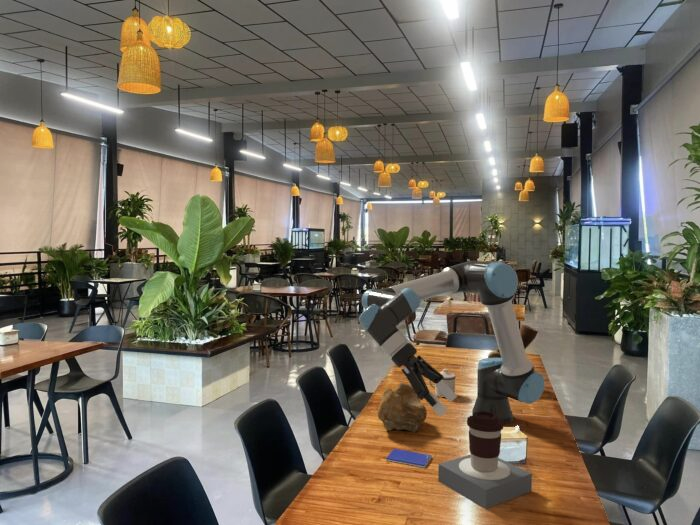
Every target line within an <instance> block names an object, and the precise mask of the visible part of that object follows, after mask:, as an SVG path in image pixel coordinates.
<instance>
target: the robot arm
mask: <svg viewBox="0 0 700 525" xmlns="http://www.w3.org/2000/svg"><path fill="white" fill-rule="evenodd" d="M518 278H519V277H518V274H517V272H516V270H515V269H514V268H513V267H512V266H511V265H510V264H507V263H504V262H500V261H482V260H481V261H480V260H469V261H465V262H461V263H458V264H454V265H451V266H447V267H445V268H443V269H442V271H441V272H438V273H433V274H429V275H427V276H424V277H423V276H422V277H420V278H417V279H412V280H409V281H406V282H402V283H399V284H395V285H391V286H388V287H384V288H381V289H375V288H373V289H371V288H370V289H367V290H366V291H365V292H364V293H363V294H362V296H361V305H362V308H364V310H363V311H362V313H360V315H359V316H358V322H359V323H360V325H361V326H362V328H364V330H365V332H366V333H367V334H368V335H369V336H371V338H372V339H373V340H374V341H375V342H376V343H377V344H378V346H379V347H380V348H381V349H382V353H385V354H386V355H387V356H388V357H391V361H392V362H393V363H394V364H395V366H396V367H397V368H401V367H402V366H403V368H402V369H401V372H402V373H403V374H404V376H405V377H406V378H407V381H408V382H409V384H410V385H411V386H412V387H413V389H414V391H415V392H416V394H417V396H418V397H419V400H420V401H422V400H425V402H426V403H427V404H429V406H430V407H431V409H432V410H433V411H434V412H435V413H436V414H437V415H438V416H439V417H441V416H443V415H445V414H446V412H447V411H448V409H447V408H446V406H445V405H444V404H443V403H442V402H441V401H440V400H439V398H438V396H436V395H435V393H433V391H431V392H430V389H429V388H428V386H427V383H426V381H425V379H424V378H426V379H427V380H428V381H429V380H430V381H431V383H433V384H434V387H435V386H436V387H437V388H438V389H439V390H440V392H441V393H442V394H443V395H444V396H445V397H446V398H445V399H446V400H447V401H448V402H449V403H451V402H452V401H454V400H455V399H457V397H458V395H457V394H456V392H455V393H454V392H453V391H452V390H451V389H450V388H449V387H448V385H447V384H446V383H445V382H444V381H443V380H442V379H443V378H444V376H443V375H441V374H440V373H439V371H438V370H437V369H435V367H433V366H432V365H431V364H429V363H428V362H427V361H426V360H425V359H424V358H423V357H422V356H421V355H420V354H418V355H417V356H415V355H416V354H417V353H418V350H417V349H416V347H414V345H413V344H412V342H408V338H407V337H406V336H405V335H404V334H403V333H402V332H401V330H399V328H398V327H397V326H398V325H399V324H401V323H402V322H404V321H405V320H406V319H407V318H408V317H410V316H411V315H412V314H414V313H415V312H416V310H417V309H418V308H420V306H421V301H423V300H428V299H430V298H434V297H437V296H440V295H443V294H446V293H448V294H450V295H452V294H456V293H470V294H477V295H478V296H479V299H480V303H481V305H482V306H484V307H487V311H488V314H489V320H490V322H491V325H492V329H493V333H494V336H495V340H496V343H497V347H498V348H499V351H500V355H501V358H488V357H485V358H482V359H480V360H479V361H478V363H477V364H478V365H477V370H476V371H477V378H476V379H477V383H476V384H477V387H476V388H477V394H476V395H477V396H476V400H475V402H474V405H473V408H472V411H471V412H472V413H471V414H472V415H473V413H475V412H478V411H487V412H492V413H495V414H496V415H497V416H498V418H499V419H501V420H502V421H503V422H504V424H509V423H511V422H512V421H513V411H512V409H511V405H510V401H509V398H510V399H513V400H515V401H518V402H520V403H524V404H534V403H536V402H538V400H539V399H540V398H541V396H542V395H543V392H544V390H545V386H546V381H545V377H544V376H543V374H542V373H540V372H538V371H535V367H534V363H533V361H532V360H530V359H529V358H527V354H526V349H524V345H523V342H522V338H521V334H520V331H519V329H520V328H519V324H518V320H517V316H516V313H515V312H516V311H515V308H514V306H513V300H514V299H515V295H516V293H517V290H518V285H519V279H518ZM498 348H497V349H498ZM435 384H436V385H435ZM472 415H471V416H472Z"/></svg>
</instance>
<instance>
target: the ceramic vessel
mask: <svg viewBox="0 0 700 525" xmlns="http://www.w3.org/2000/svg"><path fill="white" fill-rule="evenodd" d="M519 331H520V334H521V338H522V342H523V345H524V349H525V350H526V349H527V348H528V347H529V345H530V344H531V343H532V342H533V341H534V340H535V339H536V337H537V335H538V334H539V333H538V332H539V331H538V330H537V329H536V328H533V327H531V326H528V325H526V324H521V326H520V328H519ZM487 358H501V355H500V351H499V348H497V349H495V350H493V351H491V352H489V353H488V355H487Z"/></svg>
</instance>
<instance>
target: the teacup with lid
mask: <svg viewBox="0 0 700 525" xmlns="http://www.w3.org/2000/svg"><path fill="white" fill-rule="evenodd" d="M438 372H439V371H438ZM439 373H440V374H441V375H443V376H444V378H443V379H442V380H443V381H444V382H445V383H446V384H447V385H448V387H449V388H450V389H451V390H452V391H453V392H454V393H455V394H456V378H457V376H456V375H455V374H454V373H452V372H451V371H449V370H448V369H447V368H443V369H442V370H441V371H440V372H439ZM428 384H429V387H431V388H432V389H434V395H435V396H436V397H438V396H439V397H438V398H441V397H445V396H444V395H443V394H442V393H441V392H440V390H439V389H438V388H437V387H436V386H435V385H436V384H435V383H434V385H433V384H432V381H430V380H429V379H428ZM444 399H447V398H446V397H445V398H444Z"/></svg>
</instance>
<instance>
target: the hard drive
mask: <svg viewBox="0 0 700 525" xmlns="http://www.w3.org/2000/svg"><path fill="white" fill-rule="evenodd" d="M431 457H432V455H431V454H427V453H422V452H421V453H420V452H415V451H409V450H404V449H398V448H393V449H392V450H391V451H390V453H389V454H388V455H387V456H386V458H385V461H387V462H391V461H392V462H391V463H396V462H398V463H397V464H401V463H404V464H403V465H406V464H409V465H408V466H412V465H414V466H413V467H417V466H418V468H422V467H423V468H424V469H425V468H426V467H427V465H428V464H429V462H430V461H431V459H432V458H433V457H432V458H431ZM429 460H430V461H429Z"/></svg>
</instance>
